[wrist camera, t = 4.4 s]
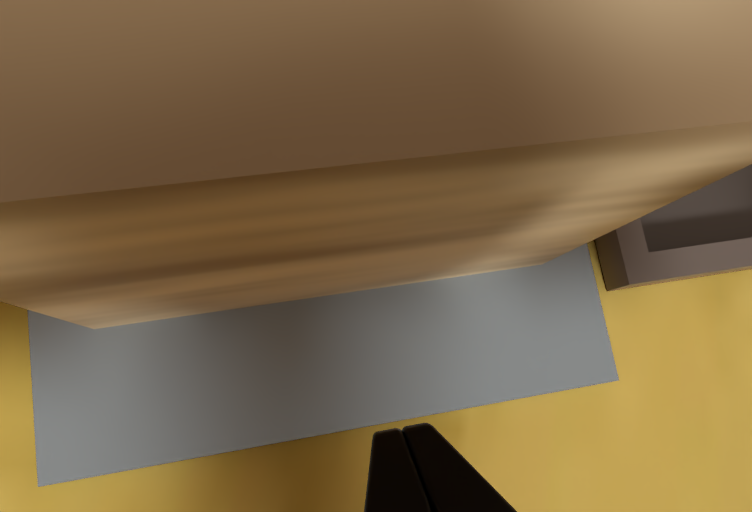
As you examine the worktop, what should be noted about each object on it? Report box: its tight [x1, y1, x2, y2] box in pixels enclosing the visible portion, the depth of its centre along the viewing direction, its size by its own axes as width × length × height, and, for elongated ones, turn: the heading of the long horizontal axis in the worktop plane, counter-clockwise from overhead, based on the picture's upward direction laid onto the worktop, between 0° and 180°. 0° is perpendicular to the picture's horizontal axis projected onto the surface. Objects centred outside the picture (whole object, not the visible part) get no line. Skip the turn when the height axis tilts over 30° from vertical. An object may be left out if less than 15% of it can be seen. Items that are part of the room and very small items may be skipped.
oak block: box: [0, 0, 752, 329], centre depth 12 cm, size 10×12×10 cm
